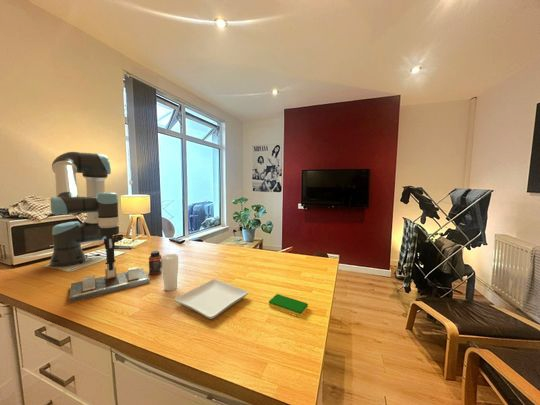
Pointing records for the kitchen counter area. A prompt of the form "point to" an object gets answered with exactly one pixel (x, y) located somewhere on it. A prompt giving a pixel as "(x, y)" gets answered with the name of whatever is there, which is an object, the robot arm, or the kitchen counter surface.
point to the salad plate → (211, 298)
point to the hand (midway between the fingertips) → (111, 276)
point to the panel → (107, 284)
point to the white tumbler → (170, 271)
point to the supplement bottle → (155, 263)
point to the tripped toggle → (106, 273)
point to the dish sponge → (288, 305)
